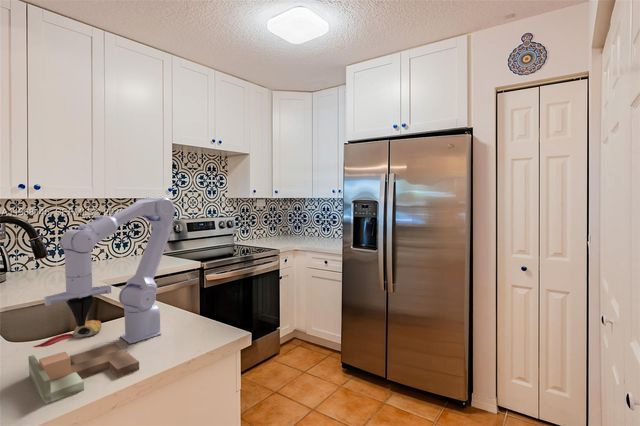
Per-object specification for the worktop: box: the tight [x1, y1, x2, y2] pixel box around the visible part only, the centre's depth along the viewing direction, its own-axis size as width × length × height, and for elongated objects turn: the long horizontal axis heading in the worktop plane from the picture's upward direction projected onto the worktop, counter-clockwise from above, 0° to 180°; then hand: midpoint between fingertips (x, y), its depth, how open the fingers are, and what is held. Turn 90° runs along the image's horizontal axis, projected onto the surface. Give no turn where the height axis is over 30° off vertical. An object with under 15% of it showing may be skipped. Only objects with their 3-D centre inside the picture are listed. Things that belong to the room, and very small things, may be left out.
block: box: [38, 351, 71, 381], centre depth 81 cm, size 5×4×4 cm
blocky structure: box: [27, 342, 140, 405], centre depth 85 cm, size 19×16×5 cm
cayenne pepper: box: [33, 333, 74, 348], centre depth 103 cm, size 12×5×2 cm, turn 132°
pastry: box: [72, 319, 102, 339], centre depth 110 cm, size 9×7×4 cm
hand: (80, 325), depth 92 cm, fingers closed
